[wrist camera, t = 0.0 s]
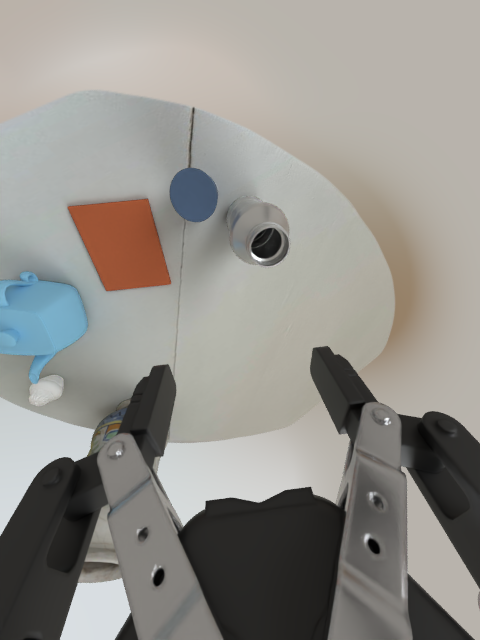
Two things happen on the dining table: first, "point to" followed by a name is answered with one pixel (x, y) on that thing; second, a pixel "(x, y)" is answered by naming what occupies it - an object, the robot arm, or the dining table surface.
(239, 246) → the silver metal bottle
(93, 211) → the terracotta mat
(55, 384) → the muffin
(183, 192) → the blue canister
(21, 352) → the teapot
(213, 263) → the dining table surface
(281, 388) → the dining table surface
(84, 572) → the vase
